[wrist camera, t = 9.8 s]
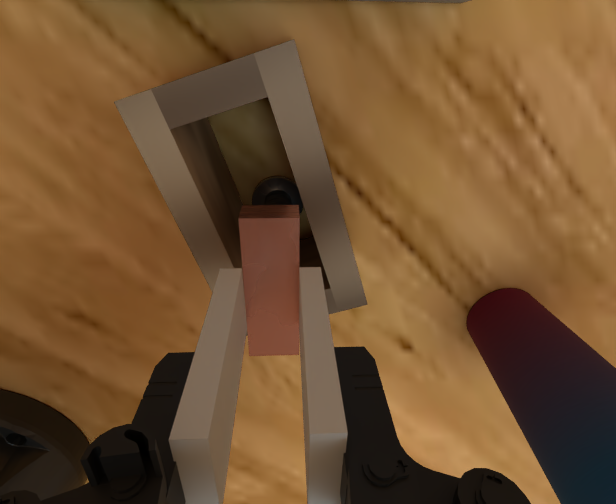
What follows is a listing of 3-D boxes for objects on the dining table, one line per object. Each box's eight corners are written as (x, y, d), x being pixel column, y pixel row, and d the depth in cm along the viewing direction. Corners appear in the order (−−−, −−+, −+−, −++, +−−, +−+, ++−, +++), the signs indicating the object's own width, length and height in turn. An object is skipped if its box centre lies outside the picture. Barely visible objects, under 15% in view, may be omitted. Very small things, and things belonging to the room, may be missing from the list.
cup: (477, 270, 25) (684, 509, 12) (565, 284, 26) (848, 522, 13) (440, 345, 28) (573, 602, 15) (520, 356, 29) (711, 606, 16)
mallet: (255, 245, 24) (236, 356, 15) (249, 149, 21) (223, 218, 12) (302, 245, 24) (311, 354, 15) (303, 149, 21) (314, 218, 12)
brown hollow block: (163, 87, 19) (114, 101, 14) (294, 42, 18) (294, 39, 13) (248, 276, 25) (236, 338, 19) (351, 248, 24) (367, 304, 19)
